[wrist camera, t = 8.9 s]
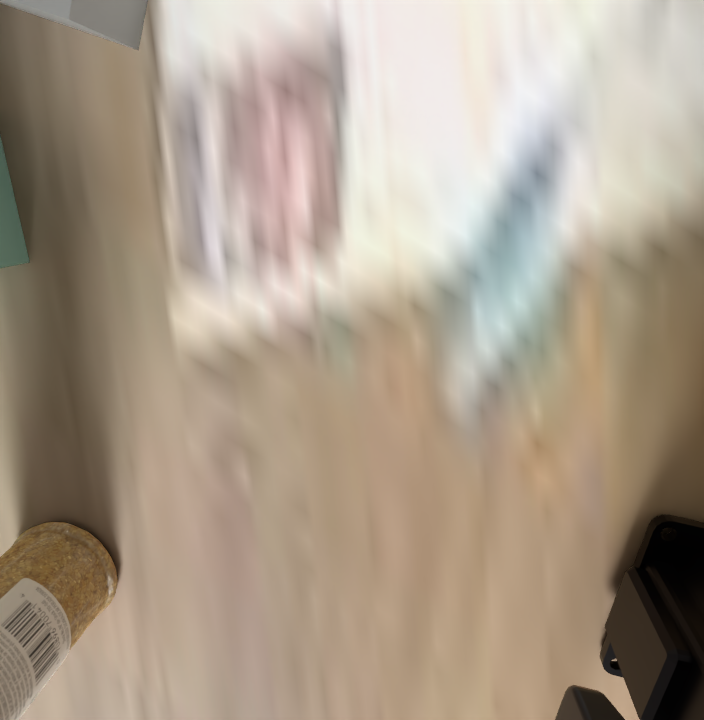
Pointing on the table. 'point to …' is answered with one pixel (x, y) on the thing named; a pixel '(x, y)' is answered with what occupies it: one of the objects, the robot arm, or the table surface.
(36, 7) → the grey slab
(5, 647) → the sprinkles bottle
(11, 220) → the teal block
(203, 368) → the table surface
